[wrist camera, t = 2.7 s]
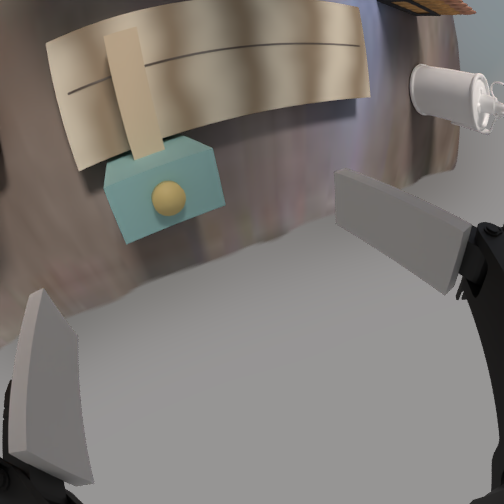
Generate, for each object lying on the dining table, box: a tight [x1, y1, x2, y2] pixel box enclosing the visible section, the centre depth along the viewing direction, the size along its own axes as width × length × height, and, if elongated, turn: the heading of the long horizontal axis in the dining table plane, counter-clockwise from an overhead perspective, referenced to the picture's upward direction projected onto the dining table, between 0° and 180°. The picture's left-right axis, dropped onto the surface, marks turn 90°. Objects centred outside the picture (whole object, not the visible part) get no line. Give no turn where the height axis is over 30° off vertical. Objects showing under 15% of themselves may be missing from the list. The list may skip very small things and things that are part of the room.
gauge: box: [103, 26, 226, 244], centre depth 17 cm, size 7×14×11 cm, turn 12°
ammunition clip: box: [377, 0, 476, 16], centre depth 20 cm, size 11×2×12 cm, turn 100°
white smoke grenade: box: [410, 64, 504, 135], centre depth 27 cm, size 10×9×20 cm
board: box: [46, 0, 370, 171], centre depth 21 cm, size 32×12×2 cm, turn 102°
